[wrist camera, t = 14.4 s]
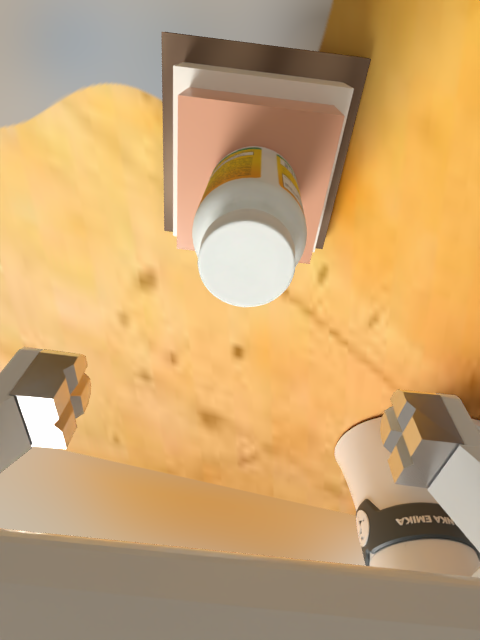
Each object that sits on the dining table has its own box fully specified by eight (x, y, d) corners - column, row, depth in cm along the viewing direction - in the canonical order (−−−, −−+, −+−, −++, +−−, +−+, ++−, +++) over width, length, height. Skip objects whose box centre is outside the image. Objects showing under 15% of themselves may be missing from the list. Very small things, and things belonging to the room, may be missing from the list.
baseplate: (365, 57, 27) (370, 59, 26) (320, 241, 35) (322, 248, 34) (166, 31, 26) (161, 31, 25) (167, 223, 35) (164, 230, 34)
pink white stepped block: (342, 82, 27) (368, 97, 20) (309, 231, 33) (320, 278, 27) (183, 62, 26) (158, 70, 20) (181, 216, 33) (162, 260, 26)
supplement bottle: (312, 164, 22) (339, 232, 14) (276, 244, 25) (282, 335, 18) (224, 128, 21) (202, 181, 14) (197, 216, 24) (168, 299, 17)
